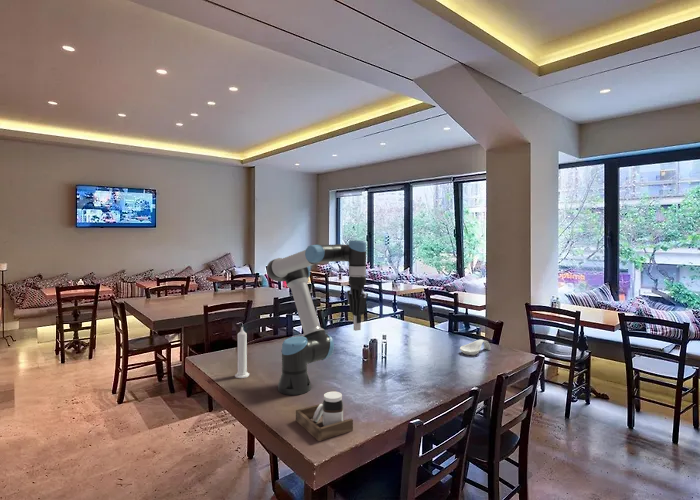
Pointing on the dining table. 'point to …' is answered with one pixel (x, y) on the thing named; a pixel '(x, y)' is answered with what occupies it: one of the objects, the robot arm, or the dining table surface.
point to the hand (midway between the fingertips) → (357, 329)
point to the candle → (242, 355)
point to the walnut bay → (322, 432)
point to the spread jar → (330, 409)
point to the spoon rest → (474, 347)
